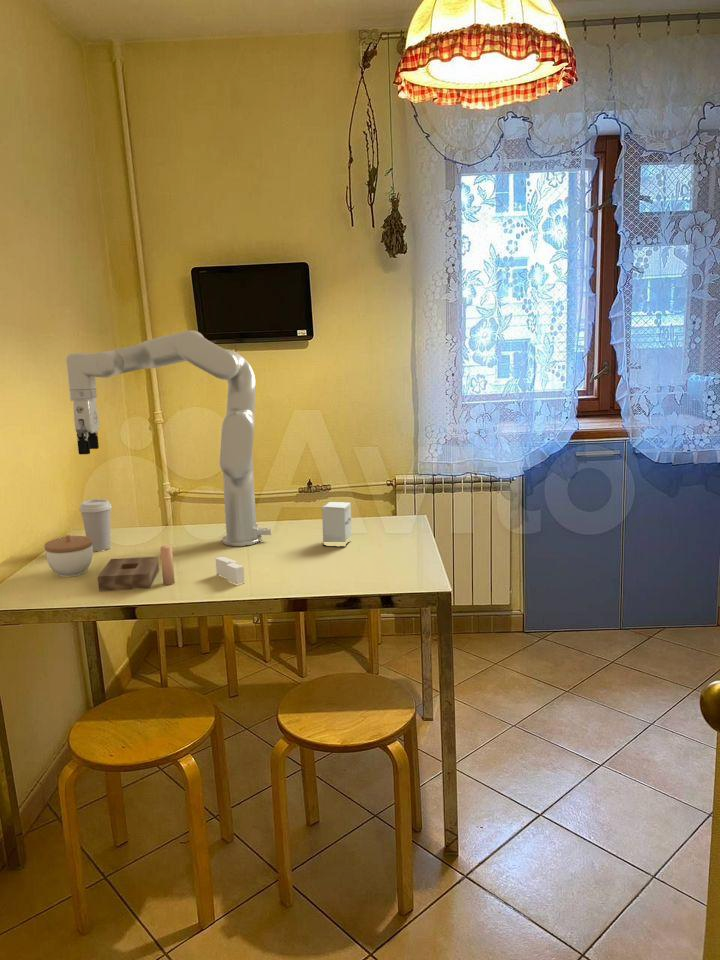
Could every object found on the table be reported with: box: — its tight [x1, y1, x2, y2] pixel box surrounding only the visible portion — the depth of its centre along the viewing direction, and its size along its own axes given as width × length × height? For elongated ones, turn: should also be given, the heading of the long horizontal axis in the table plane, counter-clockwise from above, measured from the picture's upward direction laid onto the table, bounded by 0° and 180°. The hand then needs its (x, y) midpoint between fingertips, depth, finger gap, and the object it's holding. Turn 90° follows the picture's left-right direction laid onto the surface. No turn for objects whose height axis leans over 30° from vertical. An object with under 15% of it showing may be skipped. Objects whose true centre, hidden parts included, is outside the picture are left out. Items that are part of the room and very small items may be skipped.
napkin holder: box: [215, 556, 245, 584], centre depth 202 cm, size 15×11×6 cm
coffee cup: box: [78, 498, 113, 552], centre depth 233 cm, size 10×10×15 cm
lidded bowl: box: [44, 534, 94, 578], centre depth 211 cm, size 13×13×11 cm
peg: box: [159, 545, 175, 586], centre depth 200 cm, size 3×3×10 cm
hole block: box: [97, 556, 160, 592], centre depth 204 cm, size 13×15×4 cm
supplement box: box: [321, 501, 353, 543], centre depth 232 cm, size 7×7×13 cm
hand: (89, 451), depth 228 cm, fingers open, 9 cm apart
